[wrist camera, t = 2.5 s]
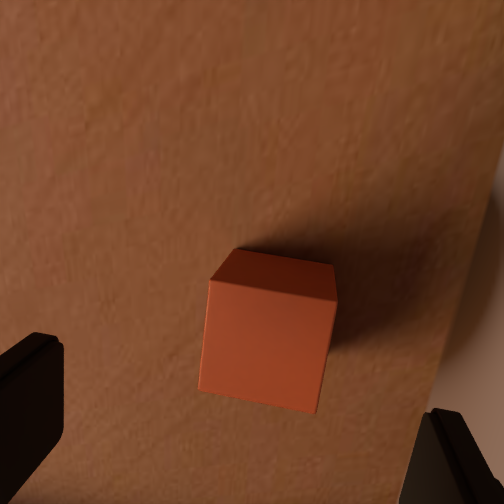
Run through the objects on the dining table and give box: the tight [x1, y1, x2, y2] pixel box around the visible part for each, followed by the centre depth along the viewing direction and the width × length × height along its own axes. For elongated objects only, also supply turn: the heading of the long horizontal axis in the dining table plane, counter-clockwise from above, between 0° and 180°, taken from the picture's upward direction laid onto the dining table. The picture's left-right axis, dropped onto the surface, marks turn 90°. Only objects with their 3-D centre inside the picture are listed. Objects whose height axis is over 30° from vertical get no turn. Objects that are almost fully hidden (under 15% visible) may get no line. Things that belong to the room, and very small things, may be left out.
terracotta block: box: [198, 249, 338, 414], centre depth 17 cm, size 4×4×4 cm
